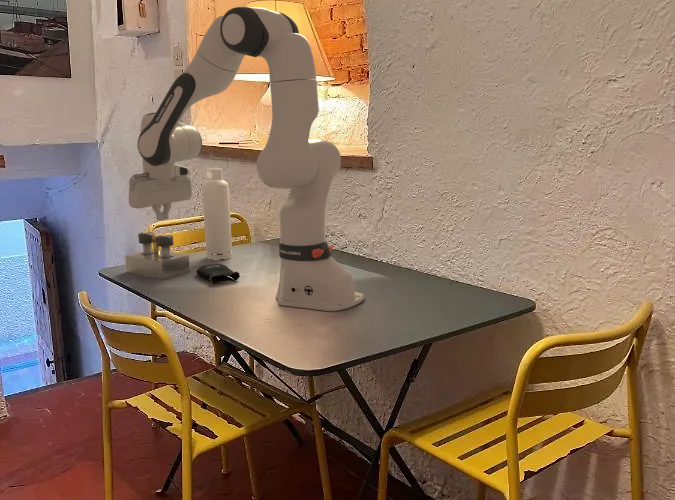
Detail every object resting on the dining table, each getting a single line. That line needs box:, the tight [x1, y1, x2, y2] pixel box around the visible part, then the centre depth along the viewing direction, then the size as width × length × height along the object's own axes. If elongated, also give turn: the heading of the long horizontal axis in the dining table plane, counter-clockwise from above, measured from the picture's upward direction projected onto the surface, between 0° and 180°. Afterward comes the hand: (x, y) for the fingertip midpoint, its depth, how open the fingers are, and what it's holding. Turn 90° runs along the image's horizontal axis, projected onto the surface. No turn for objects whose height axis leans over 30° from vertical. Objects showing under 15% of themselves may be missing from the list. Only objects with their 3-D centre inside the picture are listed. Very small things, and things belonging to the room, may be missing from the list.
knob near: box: [156, 234, 175, 259], centre depth 198 cm, size 5×5×7 cm
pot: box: [152, 235, 160, 255], centre depth 200 cm, size 2×2×5 cm
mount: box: [125, 248, 191, 280], centre depth 201 cm, size 16×10×5 cm, turn 54°
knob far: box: [137, 231, 156, 255], centre depth 202 cm, size 5×5×7 cm
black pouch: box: [196, 263, 241, 285], centre depth 194 cm, size 9×6×15 cm
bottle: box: [201, 167, 233, 261], centre depth 216 cm, size 8×8×28 cm
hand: (162, 219), depth 196 cm, fingers closed
